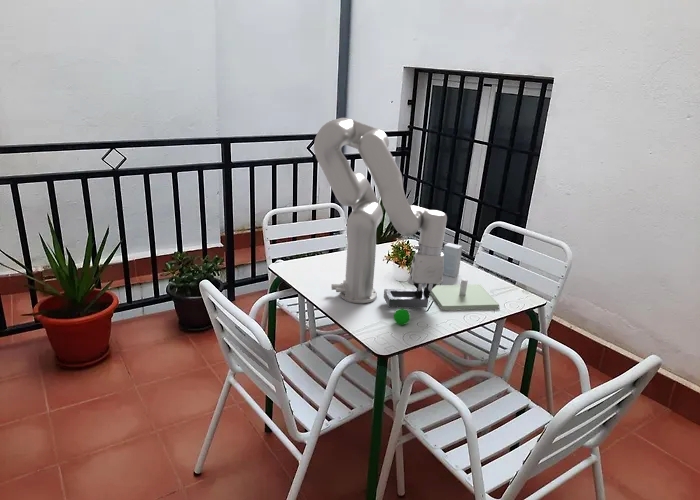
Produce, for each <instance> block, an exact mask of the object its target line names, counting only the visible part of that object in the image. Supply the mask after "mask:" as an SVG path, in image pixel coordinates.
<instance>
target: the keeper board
mask: <svg viewBox="0 0 700 500" xmlns="http://www.w3.org/2000/svg"><path fill="white" fill-rule="evenodd" d="M430 295H431V297H432V298H433V299H434V301H435V302H436V304H437V305H438V306H439V308H440V309H441V311H451V310H452V311H459V310H460V311H461V310H486V309H487V310H489V309H491V310H494V309H495V310H498V309H500V304H499V303H498V301H497V300H496V299H494V297H493V296H492V295H491V294H490V293H489V292H488V291H487V289H486V288H485V287H483V286H482V285H481V284H468V279H466V278H461V280H460V284H440V285H436V286H435V287H434V288H433V289H432V290H431V291H430Z"/></svg>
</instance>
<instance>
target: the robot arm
mask: <svg viewBox="0 0 700 500" xmlns="http://www.w3.org/2000/svg"><path fill="white" fill-rule="evenodd" d="M389 144H390V140H389V137H388V135H387V134H386V133H385V131H383V130H381V129H379V128H377V127H373V126H370V125H368V124H365V123H362V122H360V121H357V120H355V119H354V120H353V119H352V118H348V117H340V118H336V119H331V120H329V121H328V122H326V123H324V124H323V125H322V126H321V127H320V129H319V130H318V131H317V133H316V136H315V138H314V143H313V151H314V155H315V159H316V161H317V163H318V165H319V166H320V168H321V170H322V171H323V174H324V176H325V178H326V181H327V182H328V184H329V186H330V188H331V190H332V192H333V194H334V196H335V198H336V200H337V201H338V202H339V204H340V205H342V206H345V207H351V209H352V211H351V212H350V214H349V215H348V219H347V223H346V235H347V238H346V239H347V240H346V241H347V244H346V245H347V247H346V263H345V264H346V265H345V266H346V267H345V280H343V282H342V283H340V284H339V283H332V284H331V287H330V288H331V290H332V291H335V292H336V293H340V297H341V298H342V299H343V300H345V301H346V302H350V303H353V304H369V303H372V302H374V301H375V300H376V299H377V296H378V295H377V294H378V292H377V290H375V289H374V279H375V266H376V265H375V264H376V250H377V228H378V227H379V225H380V223H381V222H382V220H383V216H384V214H383V213H384V212H383V209H382V206H381V203H382V205H383V208H384V210H385V212H386V214H387V216H388V219H389V220H390V222H391V223H392V226H393V227H394V229H395V230H396V231H397V232H398V234H401V235H402V236H405V237H410V236H413V235H415V234H416V233H417V232H418V230H420V231H419V233H420V234H419V241H418V243H417V244H414V245H413V249H414V250H415V253H414V254H413V258H412V260H411V261H412V262H411V265H410V270H409V277H408V278H407V281H406V282H407V283H408V284H409V285H412V286H414V287H415V289H417V292H416V297H422V295H423V292H424V294H425V295H426V297H427V298H428V299H430V295H431V294H430V291H431V290H432V289H433V288H434V287H435V286H436V285H443V277H444V275H443V271H444V254H443V247H444V239H445V232H446V226H447V221H448V216H447V213H445V212H443V211H442V210H438V209H428V208H425V207H420V206H417V205H413V204H410V203H409V201H408V199H407V196H406V194H405V190H404V181H403V175H402V172H401V169H400V168H399V167H398V165H397V163H396V161H395V159H394V157H393V154H392V153H391V151H390V149H389V146H390V145H389ZM343 146H347V147H351V148H353V149H356V150H357V151H358V152H359V155H360V157H361V159H362V161H363V163H364V165H365V166H366V168H367V170H368V172H369V174H370V176H371V177H372V180H373V181H374V183H375V185H376V187H377V190H378V194H379V197H380V200H381V203H380V202H379V199H378V197H377V196H376V193H375V191H374V189H373V187H372V185H371V183H370V182H369V180H368V179H367V177H366V176H365V175H364V174H362V173H361V172H359V171H357V172H356V171H353V169H352V167H351V166H350V163H349V160H348V159H347V157H346V156H345V155H344V153H343V152H342V148H343ZM424 284H425V287H424V288H423V285H424ZM422 290H423V291H422Z"/></svg>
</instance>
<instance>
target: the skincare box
mask: <svg viewBox="0 0 700 500" xmlns="http://www.w3.org/2000/svg"><path fill="white" fill-rule="evenodd" d="M462 251H463V245H459V244H457V243H456V244H455V243H452V242H451V243H450V242H447V243H445V244H443V249H442V253H443V254H444V271H443V276H446V277H451V278H456V277H457V276H459V274H460V265H461V259H462V258H461V257H462Z"/></svg>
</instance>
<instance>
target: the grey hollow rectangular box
mask: <svg viewBox="0 0 700 500" xmlns="http://www.w3.org/2000/svg"><path fill="white" fill-rule="evenodd" d="M383 291H384V292H383V299H384V300H385V303H386V305H387V307H388V308H389V309H391V308H398V309H399V308H400V309H404V308H405V309H406V308H409V309H410V308H411V309H412V308H419V309H421V308H424V309H425V308H428V304H429V298H427V297H426V295H425V294H424V289H422V291H423V295H422V297H416V292H417V288H415V289H414V288H410V289H409V288H408V289H407V288H405V289H404V288H384V290H383Z"/></svg>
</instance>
